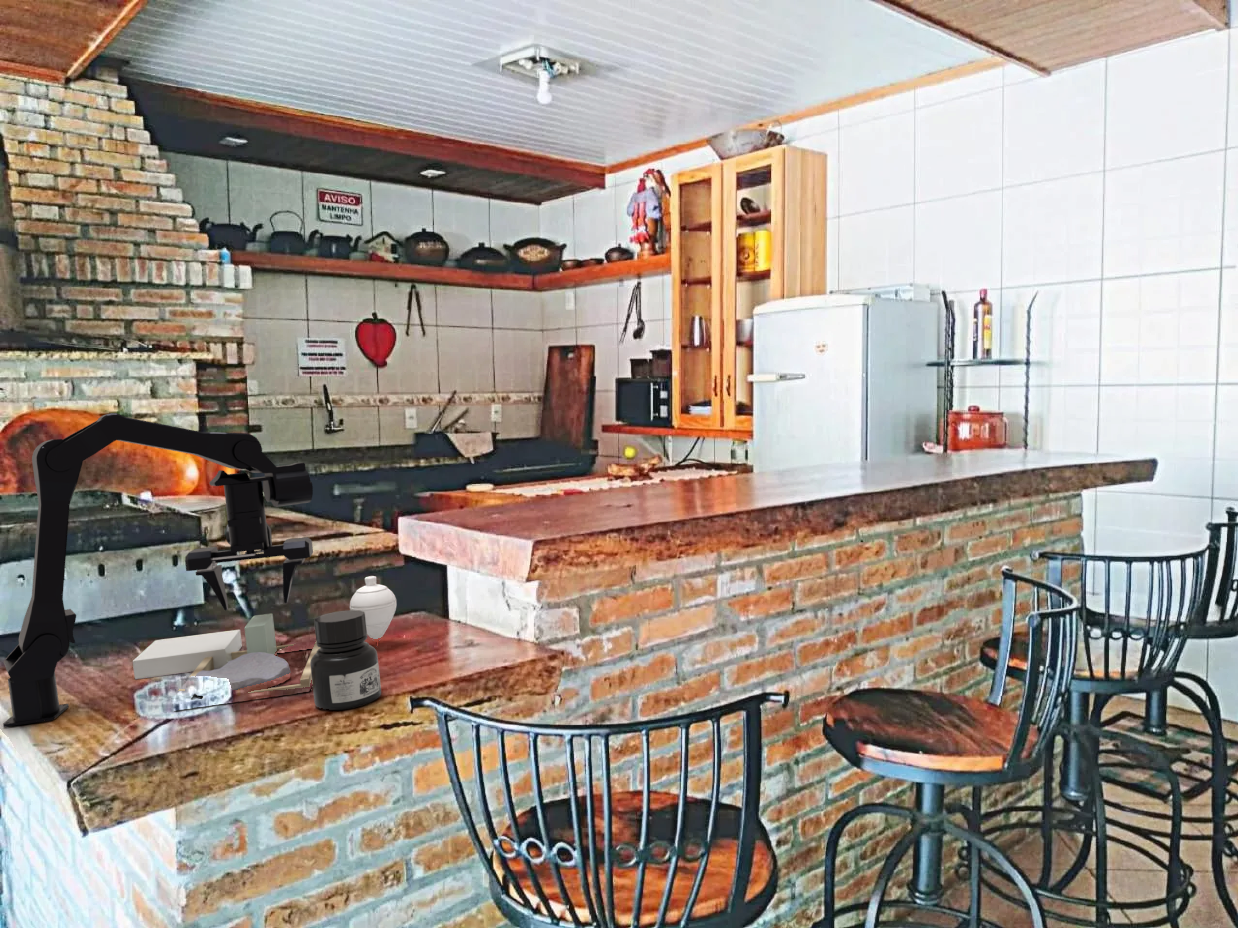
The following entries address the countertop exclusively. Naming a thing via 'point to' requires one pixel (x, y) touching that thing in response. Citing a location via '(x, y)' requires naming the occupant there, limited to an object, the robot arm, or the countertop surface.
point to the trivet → (186, 653)
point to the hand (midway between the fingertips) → (256, 606)
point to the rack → (304, 682)
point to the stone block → (250, 670)
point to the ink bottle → (344, 662)
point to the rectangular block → (260, 634)
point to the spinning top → (375, 606)
